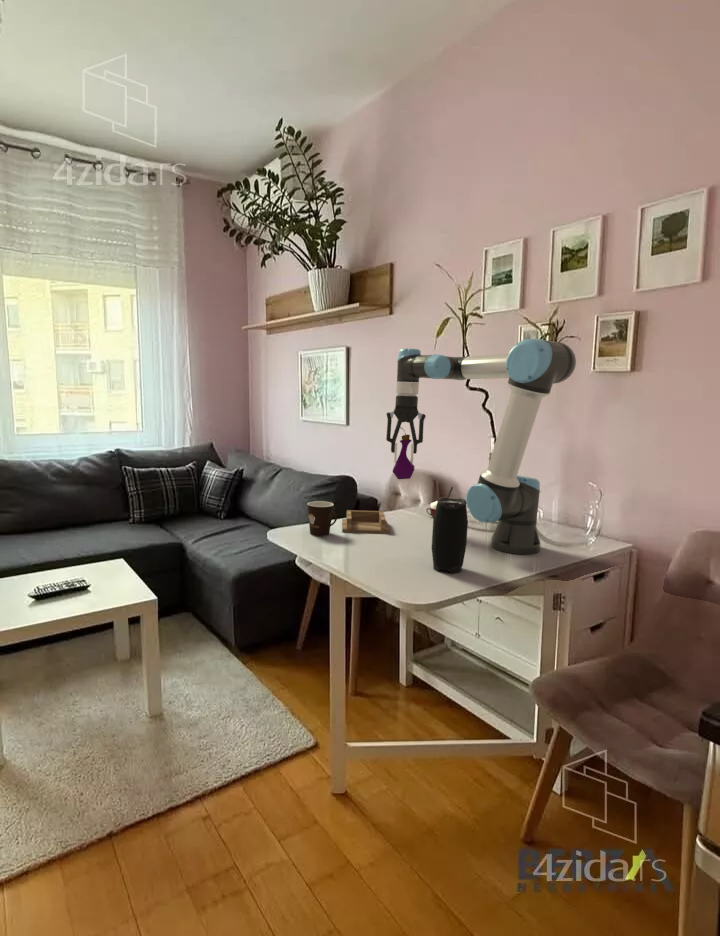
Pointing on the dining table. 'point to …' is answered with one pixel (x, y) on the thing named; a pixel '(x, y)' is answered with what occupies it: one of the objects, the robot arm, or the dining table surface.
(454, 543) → the portable speaker
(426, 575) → the dining table surface
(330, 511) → the coffee mug
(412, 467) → the perfume bottle
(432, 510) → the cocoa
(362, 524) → the walnut cradle
